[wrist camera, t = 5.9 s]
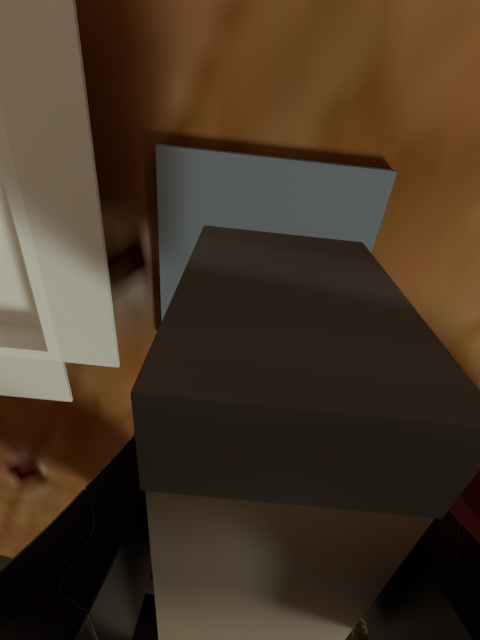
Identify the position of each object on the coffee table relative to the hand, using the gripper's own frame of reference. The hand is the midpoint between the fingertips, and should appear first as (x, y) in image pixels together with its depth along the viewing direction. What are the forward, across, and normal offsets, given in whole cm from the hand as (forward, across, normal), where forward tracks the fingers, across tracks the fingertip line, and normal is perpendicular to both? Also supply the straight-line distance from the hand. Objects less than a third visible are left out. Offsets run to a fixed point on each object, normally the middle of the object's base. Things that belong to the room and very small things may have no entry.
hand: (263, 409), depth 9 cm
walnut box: (+2, 0, 0) cm, 2 cm away
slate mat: (+10, 0, 0) cm, 10 cm away
